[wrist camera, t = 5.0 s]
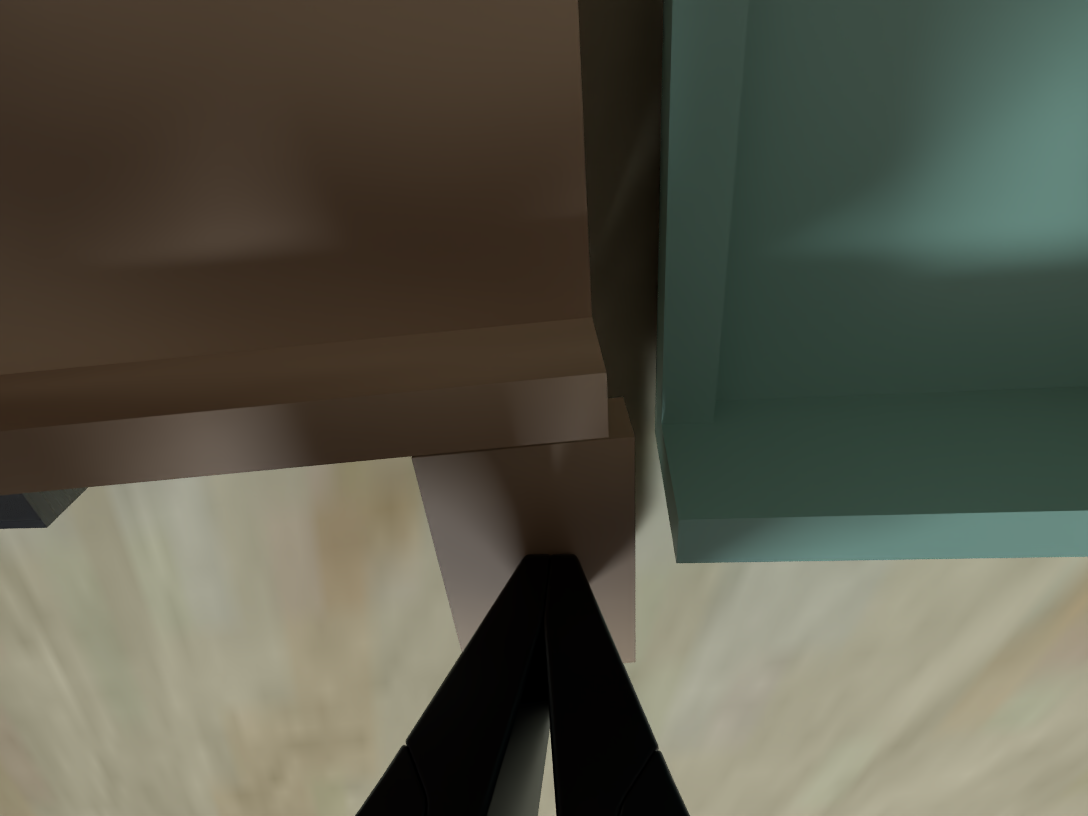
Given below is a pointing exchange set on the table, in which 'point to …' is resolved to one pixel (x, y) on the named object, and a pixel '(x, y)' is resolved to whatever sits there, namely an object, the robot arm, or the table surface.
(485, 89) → the chute
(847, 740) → the table surface
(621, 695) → the robot arm
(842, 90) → the tray
